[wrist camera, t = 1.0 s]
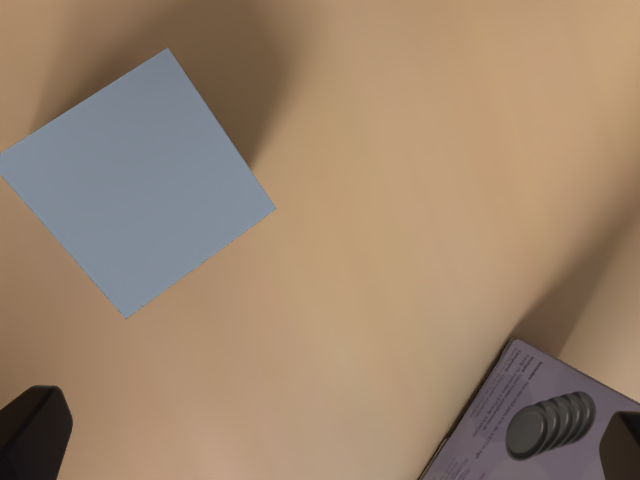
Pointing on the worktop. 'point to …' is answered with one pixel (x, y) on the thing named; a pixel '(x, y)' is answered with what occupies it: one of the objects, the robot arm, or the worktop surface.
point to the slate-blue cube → (137, 183)
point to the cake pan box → (530, 423)
